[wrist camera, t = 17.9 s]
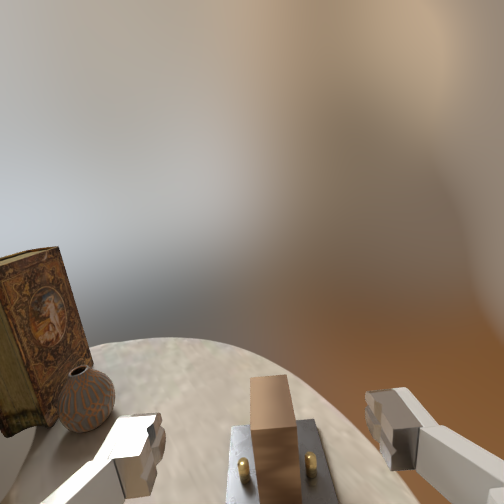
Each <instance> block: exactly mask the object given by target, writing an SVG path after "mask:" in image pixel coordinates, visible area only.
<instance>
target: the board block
mask: <svg viewBox="0 0 504 504" xmlns="http://www.w3.org/2000/svg"><path fill="white" fill-rule="evenodd" d="M250 431H251V439H252V446H253V454H254V462H255V470H256V478H257V485H258V493H259V501H260V504H302V493H301V479H300V465H299V450H298V436H297V425H296V420H295V415H294V410H293V405H292V400H291V395H290V390H289V385H288V380H287V375H276V376H265V377H253V378H250Z"/></svg>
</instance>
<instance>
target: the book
mask: <svg viewBox="0 0 504 504" xmlns="http://www.w3.org/2000/svg"><path fill="white" fill-rule="evenodd" d="M93 364H94V363H93V360H92V356H91V353H90V350H89V346H88V343H87V340H86V336H85V333H84V330H83V327H82V324H81V320H80V317H79V313H78V310H77V306H76V303H75V300H74V296H73V293H72V290H71V286H70V283H69V280H68V276H67V273H66V270H65V266H64V263H63V260H62V256H61V253H60V250H59V247H58V246H57V247H56V246H55V247H46V248H38V249H32V250H27V251H22V252H19V253H15V254H12V255H8V256H5V257H2V258H0V430H1V433H3V435H4V437H6V438H9V437H12V436H14V435H15V434H17V433H19V432H21V431H23V430H25V429H27V428H30V427H34V426H45V427H46V428H49V427H52V426H53V424H54V423H55V422H56V420H57V419H58V417H59V416H58V411H57V404H58V398H59V395H60V393H61V390H62V389H63V387H64V385H65V383H66V381H67V378H68V374H69V372H70V371H71V370H73V369H74V368H76V367H78V366H81V365H88V366H89V367H90V368H91V367H92V365H93Z"/></svg>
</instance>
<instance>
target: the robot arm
mask: <svg viewBox="0 0 504 504" xmlns="http://www.w3.org/2000/svg"><path fill="white" fill-rule="evenodd" d="M365 400H366V402H367V403H368V406H367V407H366V408H365V418H366V422H367V426H368V428H369V431H370V433H371V435H372V437H373V438H374V439H375V440H376V441H378V442H379V443H380V452H381V454H382V456H383V458H384V459H385V461H386V463H387V465H388V467H389V469H390V471H401V470H415V469H416V471H417V473H418V474H420V475H421V476H422V477H423V478H424V479H425V480H426V481H427V482H428V483H430V484H431V485H432V486H433V487H434V488H435V489H436V490H438V491H439V492H440V493H441V494H442V495H443V496H444V497H445V498H446V499H447V500H449V501H450V502H451V503H452V504H504V461H503V460H501V459H500V458H498V457H497V456H495V455H493V454H491V453H490V452H488V451H486V450H485V449H483V448H481V447H479V446H478V445H476V444H474V443H473V442H471V441H469V440H468V439H466V438H464V437H462V436H461V435H459V434H457V433H456V432H454V431H452V430H450V429H449V428H447V427H445V426H443V425H442V426H439V425H438V424H437V422H436V421H435V420H434V419H433V418H432V417H431V415H430V414H429V413H428V412H427V411H426V410H425V409H424V407H423V406H422V405H421V404H420V403H419V401H418V400H417V399H416V398H415V397H414V395H413V394H412V393H411V392H410V391H409V390H408V389H407V388H405V387H403V388H394V389H384V390H376V391H367V392H366V394H365ZM161 422H162V417H161V413H147V414H134V415H123V416H120V417H119V418H118V419H117V420H116V421H115V423H114V425H113V427H112V428H111V430H110V432H109V434H108V435H107V437H106V439H105V440H104V442H103V444H102V446H101V447H100V449H99V451H98V453H97V454H96V456H95V458H94V460H93V461H88V462H87V463H86V464H85V465H84V466H83V467H82V468H80V469H79V470H78V471H77V472H76V473H75V474H74V475H72V476H71V477H70V478H69V479H68V480H67V481H65V482H64V483H63V484H62V485H61V486H60V487H59V488H57V489H56V490H55V491H54V492H53V493H52V494H51V495H49V496H48V497H47V498H46V499H45V500H44V501H43V502H41V503H40V504H123V503H124V502H125V499H131V498H138V497H145V496H150V495H151V492H152V489H153V485H154V482H155V479H156V476H157V470H156V465H157V464H158V463H159V462H160V461H161V460H162V457H163V454H164V450H165V443H166V434H165V430H164V428H162V427H161V426H160V425H161Z"/></svg>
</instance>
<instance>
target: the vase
mask: <svg viewBox="0 0 504 504" xmlns="http://www.w3.org/2000/svg"><path fill="white" fill-rule="evenodd" d="M114 403H115V390H114V386H113V383H112V381H111V380H110V378H109V377H108V376H107V375H106V374H104V373H102V372H100V371H97V370H94V369H92V368H90V367H89V366H88V365H81V366H78V367H76V368H74V369H73V370H71V371H70V372H69V374H68V378H67V381H66V383H65V385H64V387H63V389H62V390H61V393H60V395H59V398H58V404H57V411H58V416H59V418H60V421H61V422H62V424H63V425H64V426H65V427H66V428H67V429H68V430H70V431H72V432H78V433H80V432H87V431H91V430H93V429H95V428H97V427H98V426H100V425H101V424H102V423H103V422H104V421H105V420H106V419H107V417H108V416H109V415H110V413H111V411H112V409H113V407H114Z"/></svg>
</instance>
